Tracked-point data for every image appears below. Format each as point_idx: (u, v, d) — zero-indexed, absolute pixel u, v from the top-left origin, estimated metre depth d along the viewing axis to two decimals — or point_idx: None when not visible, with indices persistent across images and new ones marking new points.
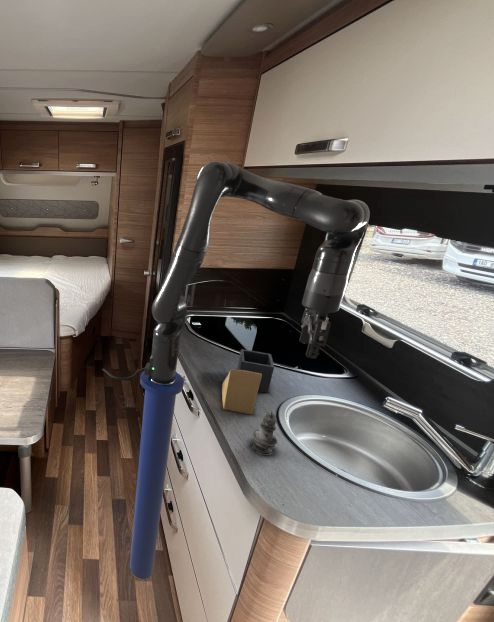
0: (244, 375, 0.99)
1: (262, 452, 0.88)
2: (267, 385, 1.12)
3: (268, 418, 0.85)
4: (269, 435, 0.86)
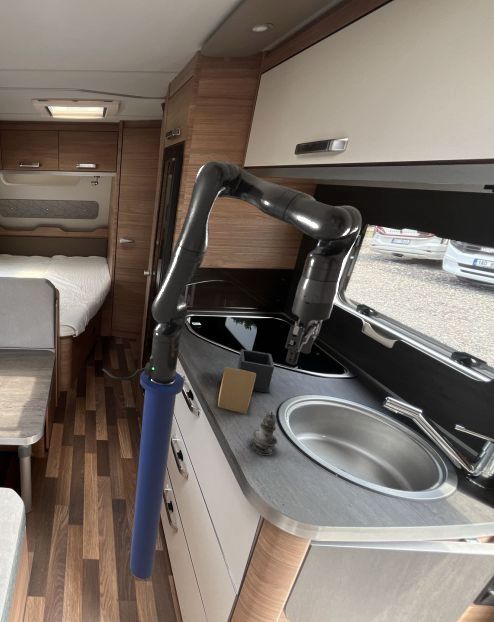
0: (238, 374, 1.00)
1: (262, 452, 0.88)
2: (267, 385, 1.12)
3: (268, 418, 0.85)
4: (269, 435, 0.86)
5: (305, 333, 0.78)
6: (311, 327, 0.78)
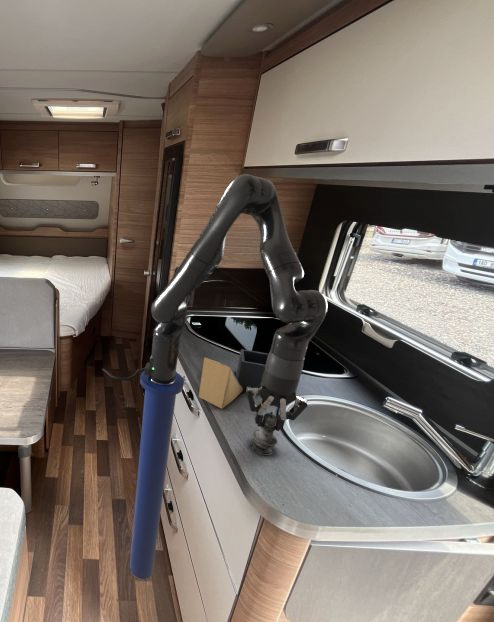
0: (215, 366, 1.03)
1: (262, 452, 0.88)
2: None
3: (268, 418, 0.85)
4: (269, 435, 0.86)
5: (264, 400, 0.84)
6: (269, 395, 0.83)
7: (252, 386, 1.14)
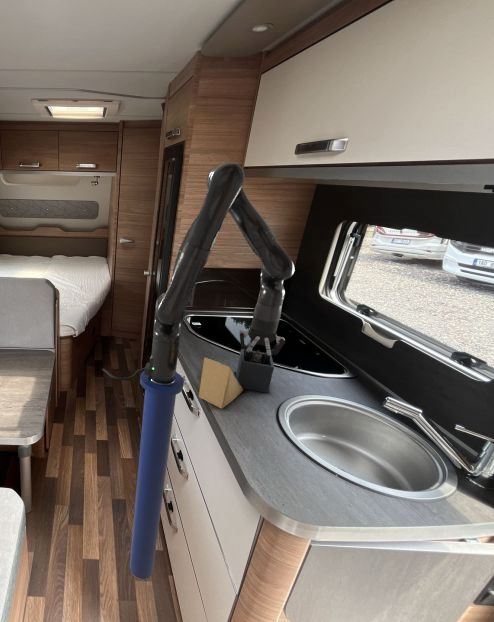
0: (215, 366, 1.03)
1: None
2: (267, 385, 1.12)
3: (256, 354, 1.13)
4: None
5: (252, 339, 1.12)
6: (256, 336, 1.11)
7: (252, 386, 1.14)
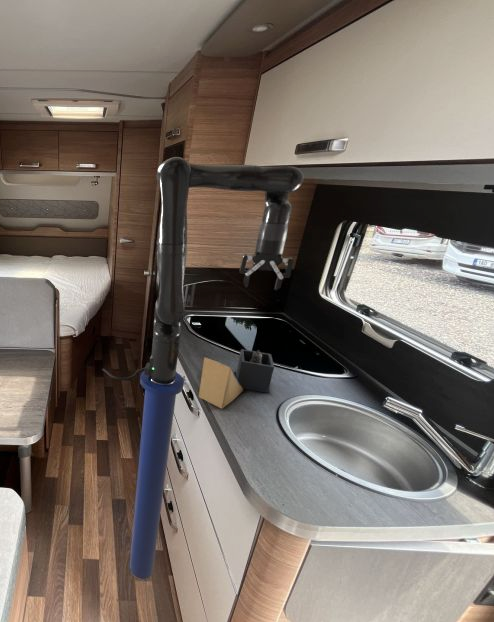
0: (215, 366, 1.03)
1: None
2: (267, 385, 1.12)
3: (256, 354, 1.13)
4: None
5: (255, 263, 1.06)
6: (261, 260, 1.04)
7: (252, 386, 1.14)
